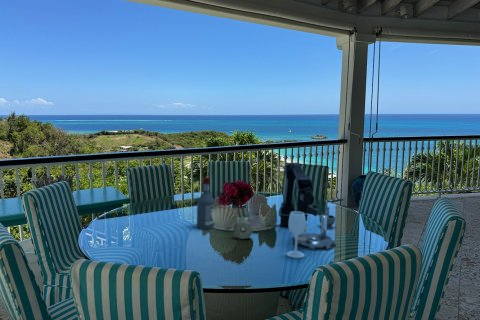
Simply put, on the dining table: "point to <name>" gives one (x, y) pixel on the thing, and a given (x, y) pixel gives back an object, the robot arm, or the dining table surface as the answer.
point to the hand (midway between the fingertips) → (301, 229)
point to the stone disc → (243, 234)
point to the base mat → (314, 249)
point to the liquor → (205, 207)
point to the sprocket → (316, 238)
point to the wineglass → (296, 230)
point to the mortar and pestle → (328, 218)
